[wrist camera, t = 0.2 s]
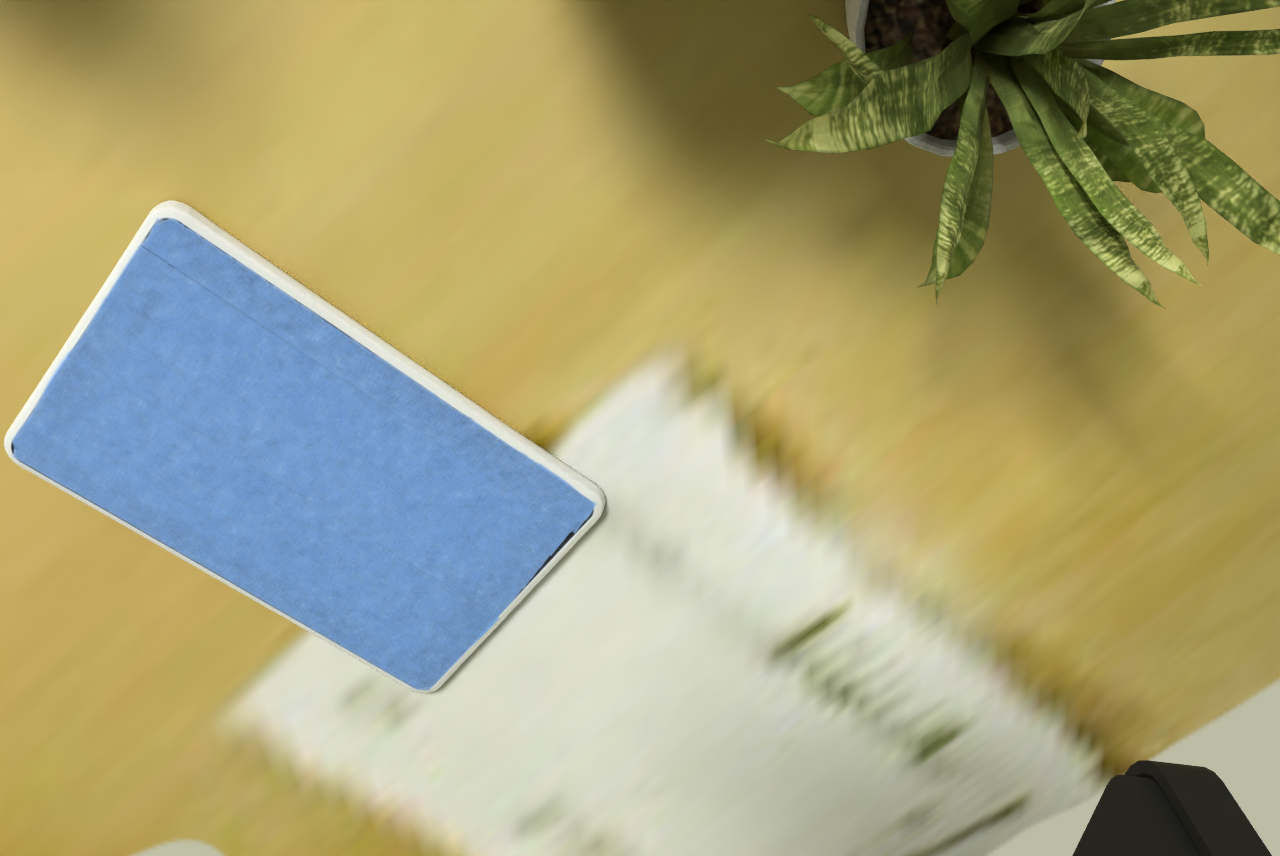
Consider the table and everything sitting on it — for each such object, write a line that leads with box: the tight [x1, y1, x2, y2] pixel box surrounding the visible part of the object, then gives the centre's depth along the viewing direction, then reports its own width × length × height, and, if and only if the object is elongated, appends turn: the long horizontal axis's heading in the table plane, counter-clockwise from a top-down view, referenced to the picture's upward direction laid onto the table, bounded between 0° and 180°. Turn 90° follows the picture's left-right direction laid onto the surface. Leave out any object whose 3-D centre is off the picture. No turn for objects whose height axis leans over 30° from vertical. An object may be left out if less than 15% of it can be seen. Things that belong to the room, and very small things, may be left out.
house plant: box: [766, 0, 1280, 308], centre depth 29 cm, size 14×14×16 cm
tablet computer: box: [4, 200, 606, 693], centre depth 43 cm, size 19×13×1 cm, turn 50°
